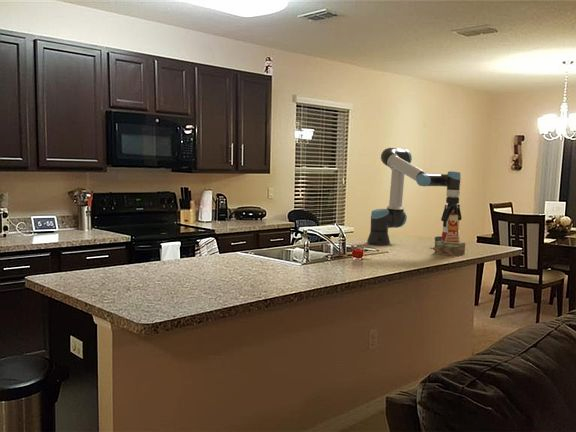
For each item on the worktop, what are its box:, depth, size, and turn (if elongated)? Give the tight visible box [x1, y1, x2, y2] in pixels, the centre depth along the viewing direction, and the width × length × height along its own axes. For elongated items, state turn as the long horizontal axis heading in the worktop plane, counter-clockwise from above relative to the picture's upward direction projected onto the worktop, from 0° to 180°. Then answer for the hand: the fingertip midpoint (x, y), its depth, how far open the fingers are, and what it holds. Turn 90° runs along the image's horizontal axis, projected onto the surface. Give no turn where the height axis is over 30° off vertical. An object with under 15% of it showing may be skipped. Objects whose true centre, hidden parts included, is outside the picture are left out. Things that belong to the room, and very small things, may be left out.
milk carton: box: [441, 210, 461, 244], centre depth 323 cm, size 9×9×20 cm
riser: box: [433, 241, 467, 257], centre depth 324 cm, size 13×13×7 cm
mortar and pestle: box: [434, 235, 442, 243], centre depth 347 cm, size 11×9×12 cm
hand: (450, 231), depth 323 cm, fingers open, 13 cm apart
